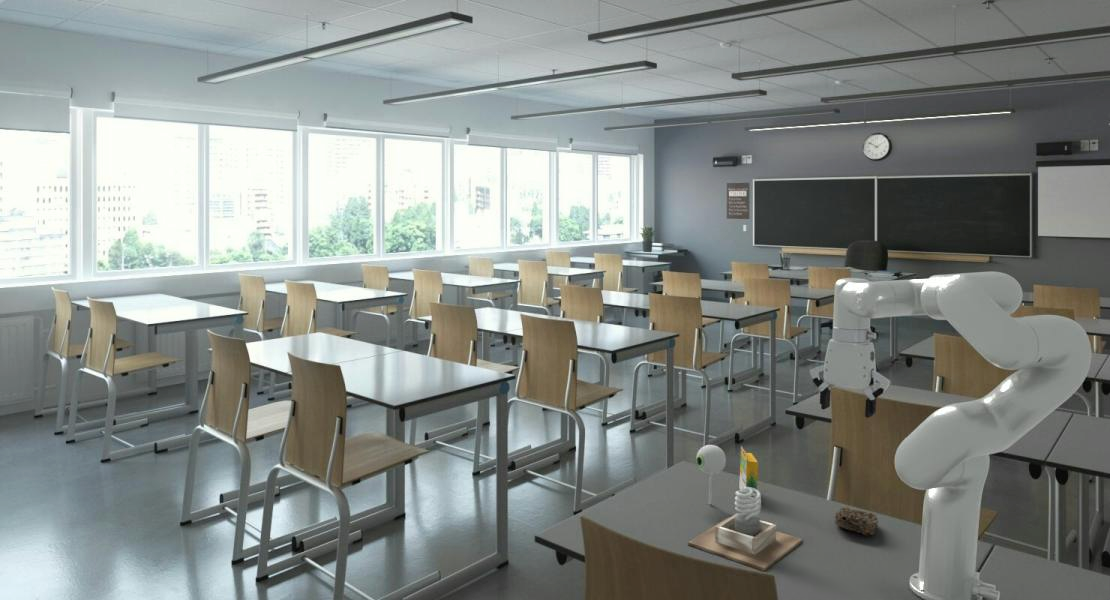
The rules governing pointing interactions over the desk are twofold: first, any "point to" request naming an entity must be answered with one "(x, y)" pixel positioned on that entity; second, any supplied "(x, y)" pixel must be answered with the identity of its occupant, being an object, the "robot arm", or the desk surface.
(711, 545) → the wooden box on board
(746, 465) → the crayon box
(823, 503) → the desk surface
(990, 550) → the desk surface
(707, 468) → the lollipop
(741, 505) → the light bulb
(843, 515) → the concrete sample
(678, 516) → the desk surface
